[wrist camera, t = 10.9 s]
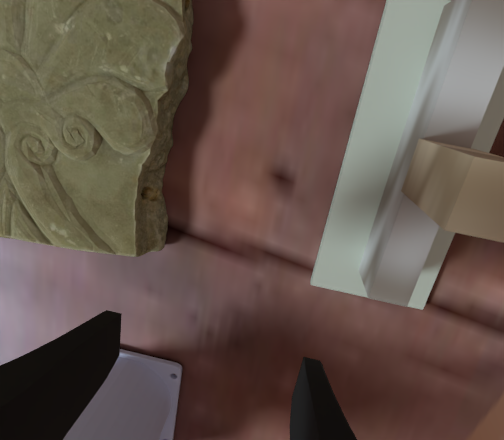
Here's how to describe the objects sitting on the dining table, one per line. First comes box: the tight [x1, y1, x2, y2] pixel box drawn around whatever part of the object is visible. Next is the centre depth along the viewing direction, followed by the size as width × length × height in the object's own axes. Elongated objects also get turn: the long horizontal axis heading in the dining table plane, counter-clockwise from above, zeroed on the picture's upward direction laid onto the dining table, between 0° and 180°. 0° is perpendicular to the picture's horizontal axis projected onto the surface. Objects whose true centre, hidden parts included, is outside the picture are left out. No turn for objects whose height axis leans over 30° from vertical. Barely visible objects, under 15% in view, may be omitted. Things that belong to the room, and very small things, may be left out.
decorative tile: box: [0, 0, 193, 257], centre depth 19 cm, size 19×20×4 cm
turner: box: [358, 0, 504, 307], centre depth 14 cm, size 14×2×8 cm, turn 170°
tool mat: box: [311, 0, 504, 310], centre depth 19 cm, size 16×7×1 cm, turn 170°
